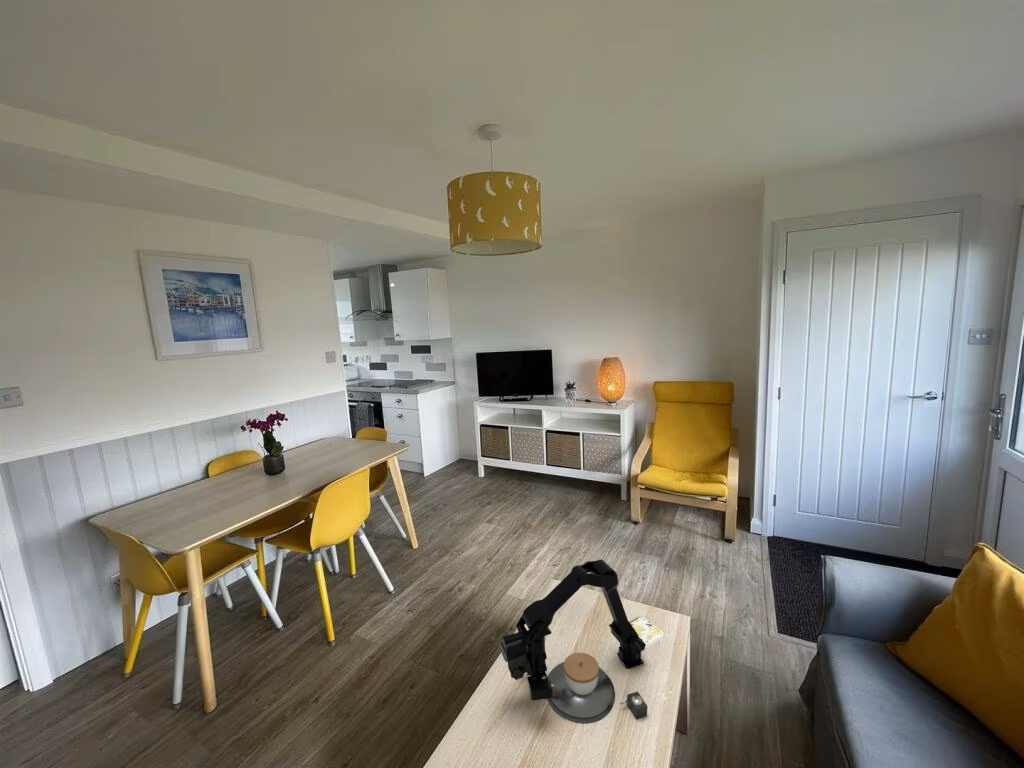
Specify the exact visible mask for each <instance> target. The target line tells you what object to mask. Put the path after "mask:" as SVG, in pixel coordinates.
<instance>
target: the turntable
mask: <svg viewBox="0 0 1024 768" xmlns="http://www.w3.org/2000/svg"><path fill="white" fill-rule="evenodd" d="M552 669H553V668H552ZM552 669H551V670H552ZM551 670H550V672H551V673H550V672H549V673H550V675H549V677H548V680H550V682H551V686H552V690H553V696H552V698H550V699H551V701H552V703H553V704H554V705H555V707H556V708H557V709H558V710H560V711H561V712H562V713H564V714H566V715H568V716H570V717H573V718H577V719H590V718H594V717H597V716H599V715H601V714H602V713H604V712H605V711H606V710H607V708H608V707H609V705H610V703H611V701H612V692H613V690H612V685H611V682H610V679H611V678H610V677H609V678H610V679H609V678H608V676H609V675H608V674H607V673H606V672H605V671H604V669H602V668H601V667H600V666H599V672H598V682H597V685H596V687H595V689H594V690H593V691H592V692H591V693H589V694H587V695H579V694H576V693H574V692H573V691H572V690H571V689H570V688H569V686H568V685H567V682H566V679H565V673H564V661H561V663H559V664H557V665H555V666H554V669H553V670H552V671H551ZM607 675H608V676H607Z"/></svg>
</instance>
